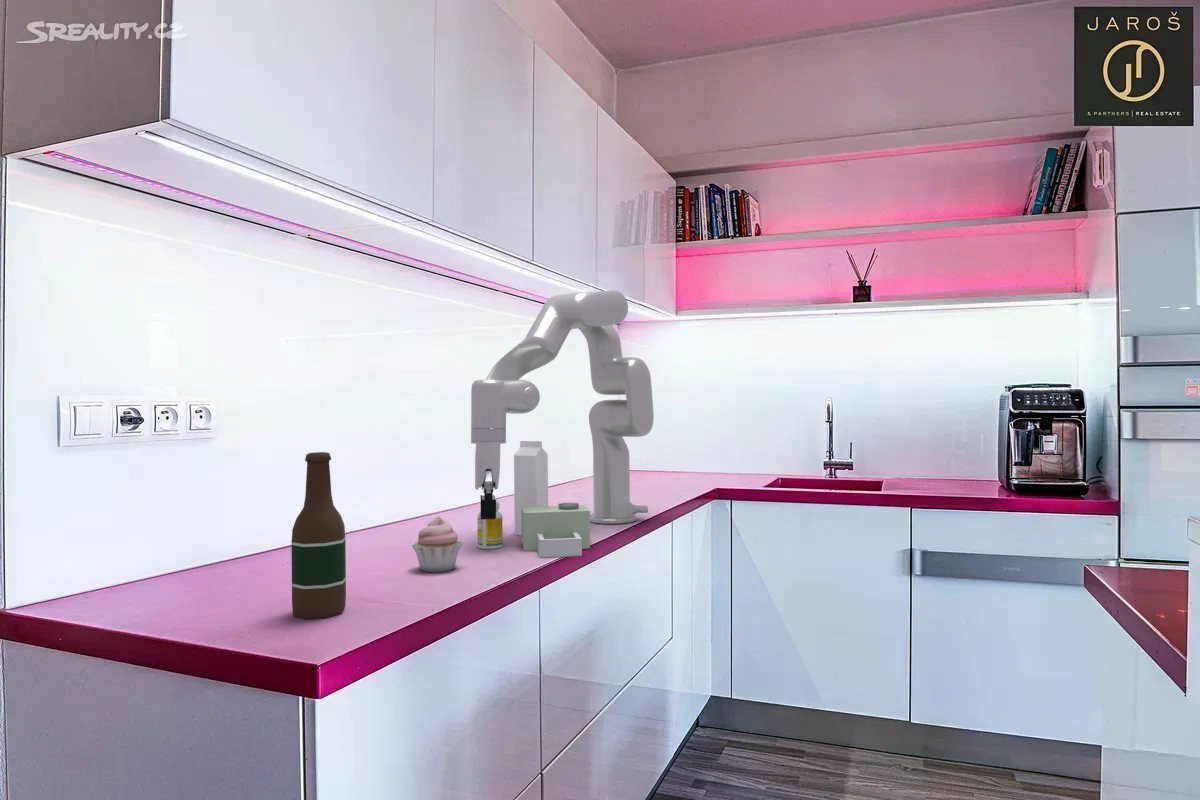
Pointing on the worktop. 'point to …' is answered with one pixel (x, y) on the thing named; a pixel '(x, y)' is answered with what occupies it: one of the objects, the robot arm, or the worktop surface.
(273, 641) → the worktop surface
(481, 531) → the supplement bottle
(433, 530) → the cupcake
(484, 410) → the robot arm
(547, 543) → the green box with tray
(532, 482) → the milk
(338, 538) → the beer bottle
